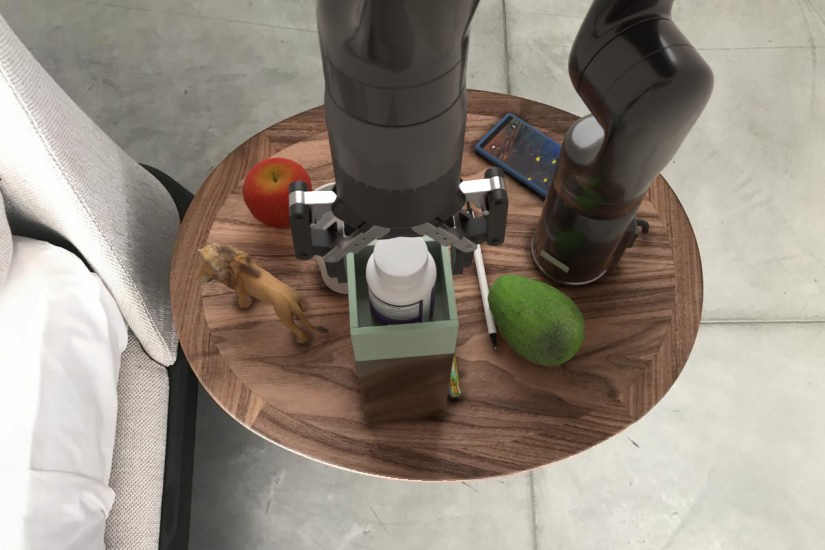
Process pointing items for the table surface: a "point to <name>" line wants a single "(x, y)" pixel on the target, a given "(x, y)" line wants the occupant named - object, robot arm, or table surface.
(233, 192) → the table surface
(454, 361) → the pencil
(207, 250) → the lion figurine
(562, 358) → the fruit
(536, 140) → the smartphone
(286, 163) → the apple
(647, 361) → the table surface
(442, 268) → the green open-top box
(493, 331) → the pen
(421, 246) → the pill bottle
